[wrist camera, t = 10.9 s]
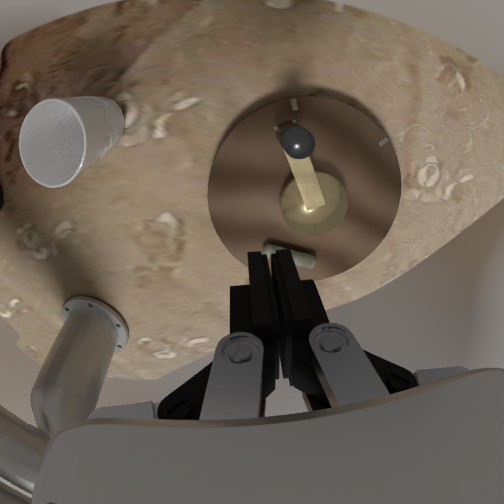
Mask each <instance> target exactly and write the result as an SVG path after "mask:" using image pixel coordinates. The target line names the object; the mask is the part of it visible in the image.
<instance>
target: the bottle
mask: <svg viewBox="0 0 504 504" xmlns="http://www.w3.org/2000/svg"><path fill="white" fill-rule="evenodd" d="M2 205H3V193H2V188H1V186H0V210H1V208H2Z"/></svg>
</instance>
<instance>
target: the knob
mask: <svg viewBox="0 0 504 504" xmlns="http://www.w3.org/2000/svg"><path fill="white" fill-rule="evenodd" d="M273 127H274V129H275V132H276V138H277V140H278V142H279V143H280V144H281V146H282V148H283V151H284V153H285V156H286V158H287V161H288V163H289V166H290V168H291V171H292V173H293V176H292V177H291V178H290V179H289V180H288V181H287V182H286V183H285V185H284V187H283V188H282V191H281V194H280V209H281V212H282V215H283V218H284V220H285V222H286V224H287V225H288V226H289V227H290V228H291V229H292V230H293V231H295V232H296V233H298V234H301V235H304V236H312V237H313V236H321V235H324V234H326V233H329V232H330V231H332V230H334V229H335V228H336V227H337V226H338V225H339V224H340V223H341V222H342V220H343V219H344V217H345V215H346V212H347V208H348V198H347V194H346V191H345V189H344V187H343V186H342V184H341V183H340V182H339V181H338V180H337V179H336V178H335V177H334V176H333V175H332V174H330V173H328V172H326V171H324V170H320V169H313V166H312V163H311V160H310V158H309V156H310V155H311V154H312V153H313V151H314V149H315V139H314V136H313V135H312V134H311V132H309V131H308V130H306V129H305V128H303V127H302V126H300V125H298V124H297V123H296V121H295V120H294V119H291V120H289V121H284V122H282V123H280V124H278V125H275V126H273Z"/></svg>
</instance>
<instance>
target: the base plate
mask: <svg viewBox="0 0 504 504" xmlns="http://www.w3.org/2000/svg"><path fill="white" fill-rule="evenodd" d="M291 119H294V120H295V121H296V123H297V124H298V125H300V126H302V127H303V128H305V129H306V130H308V131H309V132H311V134H312V135H313V136H314V139H315V149H314V151H313V153H312V154H311V155H310V156H309V158H310V160H311V163H312V166H313V169H320V170H324V171H326V172H328V173H330V174H332V175H333V176H334V177H335V178H336V179H337V180H338V181H339V182H340V183H341V184H342V186H343V187H344V189H345V191H346V194H347V198H348V208H347V212H346V215H345V217H344V219H343V220H342V222H341V223H340V224H339V225H338V226H337V227H336V228H335V229H334V230H332V231H330V232H329V233H326V234H324V235H321V236H313V237H312V236H304V235H301V234H298V233H296V232H295V231H293V230H292V229H291V228H290V227H289V226H288V225H287V224H286V222H285V220H284V218H283V215H282V212H281V209H280V194H281V191H282V188H283V187H284V185H285V183H286V182H287V181H288V180H289V179H290V178H291V177H292V176H293V173H292V171H291V168H290V166H289V163H288V161H287V158H286V156H285V153H284V151H283V148H282V146H281V144H280V143H279V142H278V140H277V138H276V132H275V129H274V127H273V126H275V125H278V124H280V123H282V122H284V121H289V120H291ZM400 196H401V173H400V168H399V163H398V159H397V157H396V154H395V151H394V149H393V147H392V145H391V143H390V141H389V139H388V138H387V136H386V135H385V134H384V132H383V131H382V130H381V128H380V127H379V126H378V125H377V124H376V123H375V122H374V121H373V120H372V119H371V118H369V117H368V116H367V115H365V114H364V113H363V112H361V111H360V110H358V109H356V108H354V107H352V106H350V105H348V104H346V103H343V102H340V101H337V100H334V99H329V98H324V97H316V96H297V97H288V98H284V99H280V100H276V101H274V102H271V103H269V104H266V105H264V106H262V107H260V108H258V109H256V110H255V111H253V112H251V113H250V114H249V115H247V116H246V117H245V118H244V119H242V120H241V121H240V122H239V123H238V124H237V125H236V126H235V127H234V128H233V129H232V130H231V131H230V133H229V134H228V136H227V137H226V138H225V140H224V141H223V143H222V145H221V147H220V149H219V150H218V152H217V155H216V157H215V160H214V163H213V166H212V169H211V172H210V177H209V182H208V205H209V212H210V216H211V220H212V223H213V225H214V228H215V230H216V232H217V234H218V236H219V238H220V239H221V241H222V243H223V244H224V245H225V247H226V248H227V249H228V250H229V252H230V253H231V254H232V255H233V256H234V257H235V258H236V259H238V260H239V261H240V262H241V263H243V264H244V265H245V266H247V267H248V256H247V252H254V251H261V254H267V258H268V263H269V268H270V273H271V254H274V253H276V250H279V249H290V250H291V253H292V256H293V259H294V262H295V265H296V268H297V271H298V274H299V277H300V280H307V279H313V281H315V280H321V279H325V278H328V277H332V276H335V275H337V274H340V273H342V272H344V271H346V270H348V269H350V268H352V267H354V266H355V265H357V264H358V263H360V262H361V261H362V260H364V259H365V258H366V257H367V256H368V255H370V254H371V253H372V252H373V251H374V250H375V249H376V247H377V246H378V245H379V244H380V243H381V241H382V240H383V239H384V237H385V236H386V234H387V233H388V231H389V229H390V228H391V226H392V223H393V221H394V219H395V217H396V213H397V210H398V207H399V202H400Z"/></svg>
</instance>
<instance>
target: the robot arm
mask: <svg viewBox="0 0 504 504" xmlns="http://www.w3.org/2000/svg"><path fill="white" fill-rule="evenodd" d="M247 256H248V268H249V281H250V285H239V286H230V334H229V335H227V336H225V337H224V338H222V339H221V340H220V341H219V342H218V345H217V347H216V350H215V354H214V359H213V361H212V362H211V363H210V364H209V365H207V366H206V367H205V368H204V369H202V370H201V371H200V372H198V373H197V374H196V375H194V376H193V377H192V378H191V379H189V380H188V381H187V382H185V383H184V384H183V385H181V386H180V387H179V388H177V389H176V390H174V391H173V392H172V393H171V394H169V395H168V396H166V397H165V398H164V399H163V400H162V401H161V402H160V403H155V404H153V402H152V401H149V402H142V403H136V404H128V405H119V406H112V407H102V408H98V409H96V410H95V408H96V405H97V402H98V398H99V395H100V392H101V389H102V386H103V382H104V379H105V376H106V373H107V370H108V368H109V365H110V362H111V359H112V356H113V353H114V352H116V351H120V350H121V349H123V348H124V347H125V346H126V344H127V341H128V338H129V332H128V328H127V326H126V324H125V322H124V321H123V319H122V318H121V317H120V316H119V315H118V314H117V313H116V312H115V311H114V310H113V309H112V308H111V307H109V306H108V305H106V304H104V303H103V302H101V301H99V300H96V299H93V298H90V297H85V296H77V297H72V298H70V299H69V300H68V301H67V302H66V303H65V305H64V306H63V309H62V318H63V321H64V325H63V327H62V328H61V330H60V332H59V334H58V336H57V338H56V340H55V342H54V344H53V346H52V347H51V349H50V351H49V353H48V356H47V358H46V360H45V362H44V364H43V366H42V368H41V370H40V372H39V375H38V377H37V379H36V381H35V383H34V386H33V389H32V391H31V407H32V411H33V414H34V417H35V420H36V423H37V426H38V428H36V427H34V426H32V425H30V424H28V423H26V422H25V421H23V420H21V419H20V418H19V417H17V416H16V415H14V414H13V413H11V412H10V411H8V410H7V409H6V408H4V407H3V406H1V405H0V477H2V478H4V479H5V480H7V481H9V482H11V483H12V484H13V485H15V486H17V487H19V488H20V489H23V490H24V491H26V492H28V493H30V494H32V498H30V497H28V496H26V495H24V494H22V493H20V492H19V491H17V490H15V489H13V488H11V487H10V486H8V485H6V484H4V483H3V482H1V481H0V504H504V369H501V368H480V369H473V370H468V369H467V368H464V367H459V366H456V367H447V368H436V369H424V370H416V371H415V373H411V372H410V371H408V370H406V369H405V368H403V367H400V366H398V365H396V364H394V363H391V362H389V361H387V360H384V359H382V358H380V357H378V356H376V355H373V354H371V353H369V352H367V351H365V350H363V349H362V348H361V346H360V345H359V343H358V342H357V340H356V339H355V337H354V335H353V334H352V333H351V332H350V330H349V329H348V328H346V327H344V326H343V325H339V324H337V323H330V322H329V320H328V317H327V314H326V312H325V309H324V306H323V304H322V301H321V298H320V296H319V293H318V290H317V288H316V285H315V283H314V281H313V279H307V280H300V277H299V274H298V271H297V268H296V265H295V262H294V259H293V256H292V253H291V250H290V249H279V250H276V253H274V254H271V273H270V268H269V263H268V258H267V254H261V251H254V252H247ZM279 355H280V361H281V367H282V373H283V378H289V382H290V386H294V387H295V388H297V389H298V390H300V391H302V396H303V399H304V402H305V404H306V407H307V409H308V412H303V413H296V414H288V415H279V416H270V417H265V409H266V397H268V396H269V394H271V393H272V392H273V391H274V390H275V379H279Z"/></svg>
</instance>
